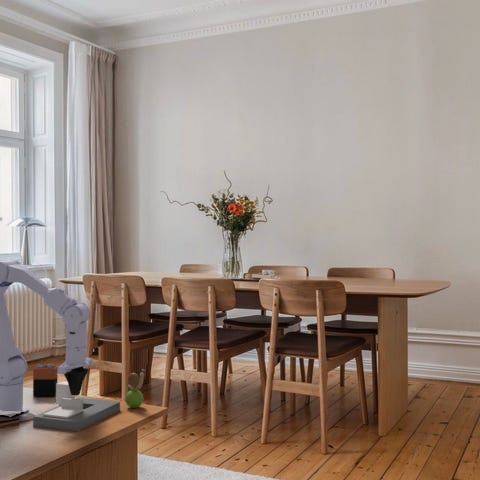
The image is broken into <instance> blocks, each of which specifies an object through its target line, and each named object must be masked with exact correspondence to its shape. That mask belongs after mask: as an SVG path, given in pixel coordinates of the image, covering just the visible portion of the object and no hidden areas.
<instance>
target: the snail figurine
mask: <svg viewBox="0 0 480 480" xmlns="http://www.w3.org/2000/svg"><path fill="white" fill-rule="evenodd" d="M141 371H142V372H140V373H139V375H138V373H136V372H132V373H130V374H129V375H128V377H127V382H128V385H127V387H128V389H129V390H128V391H127V393H126V395H125V398H124V402H125V405H127V406H128V407H129V408H131V409H137V408H139V407H140V406H141V405H142V404H143V403H144V394H143V393H142V392H141V391H140V389H141V388H142V386H143V384H144V377H145V371H146V369H145V368H141Z"/></svg>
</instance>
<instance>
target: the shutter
mask: <svg viewBox="0 0 480 480" xmlns="http://www.w3.org/2000/svg"><path fill="white" fill-rule="evenodd" d="M82 409H83V400H79V399H77V398H75V399H70V398H62V400H61V407H58V408H56V409H54V410H51V411H49V412H47V413H44V414H43V416H49V417H57V418H66V419H68V418H70V417H72V416H74V415H76V414H78V413H81V412H83V410H82Z"/></svg>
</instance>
